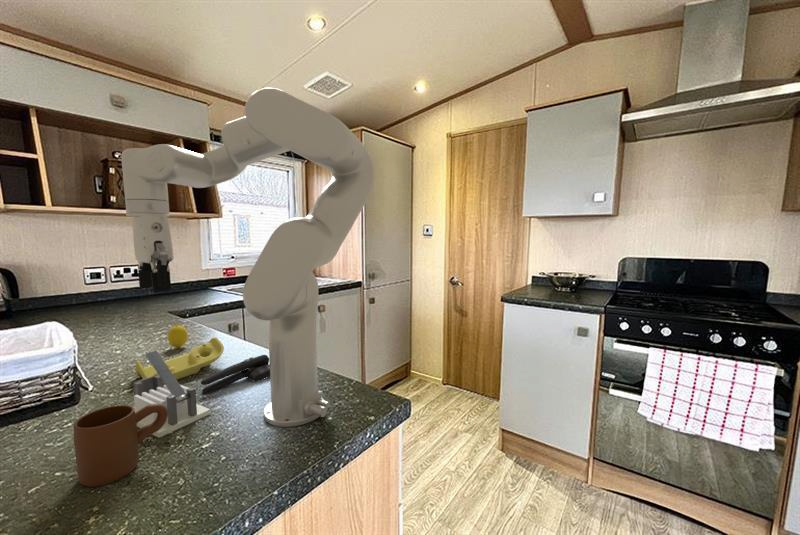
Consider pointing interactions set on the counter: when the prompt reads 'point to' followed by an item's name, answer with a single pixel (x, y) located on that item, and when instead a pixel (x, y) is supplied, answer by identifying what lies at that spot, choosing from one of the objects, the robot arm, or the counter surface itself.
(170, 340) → the lemon
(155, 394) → the heatsink board
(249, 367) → the can opener
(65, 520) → the counter surface
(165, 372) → the grey long flat bar
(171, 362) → the plastic component
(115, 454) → the mug
